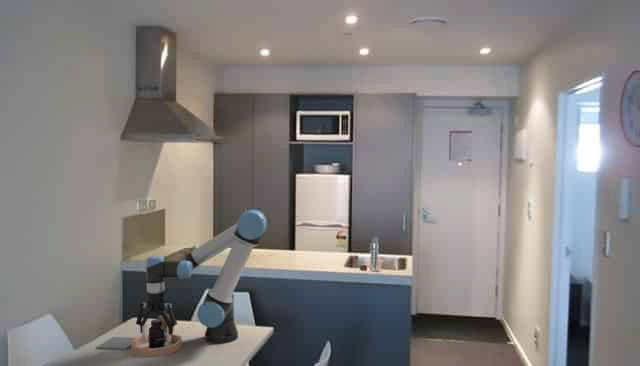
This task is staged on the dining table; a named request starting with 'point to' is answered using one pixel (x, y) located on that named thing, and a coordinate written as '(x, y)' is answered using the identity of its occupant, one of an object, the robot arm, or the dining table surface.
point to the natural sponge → (164, 322)
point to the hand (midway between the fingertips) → (156, 340)
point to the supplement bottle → (156, 334)
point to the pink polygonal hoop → (156, 351)
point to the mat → (117, 343)
